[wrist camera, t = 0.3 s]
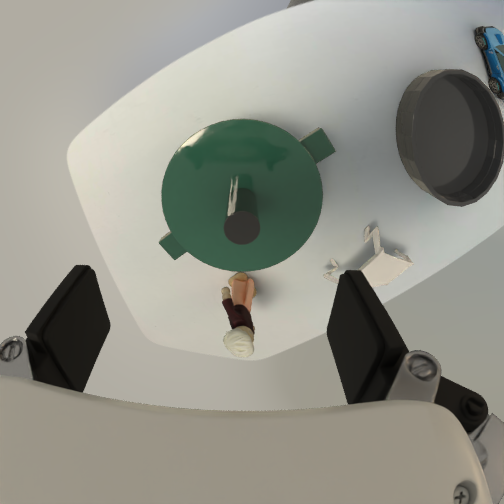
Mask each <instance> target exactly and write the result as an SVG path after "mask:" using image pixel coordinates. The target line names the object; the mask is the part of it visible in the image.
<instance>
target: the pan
mask: <svg viewBox="0 0 504 504" xmlns="http://www.w3.org/2000/svg"><path fill="white" fill-rule="evenodd" d="M396 139H397V146H398V150H399V154H400V157H401V160H402V163H403V165H404V167H405V169H406V171H407V173H408V174H409V176H410V177H411V179H412V180H413V181H414V182H415V183H416V184H417V185H418V186H419V187H420V188H421V189H422V190H424V191H426V192H427V193H429V194H430V195H432V196H434V197H435V198H437V199H439V200H440V201H442V202H444V203H445V204H447V205H452V206H461V207H462V206H466V205H469V204H472V203H475V202H477V201H478V200H479V199H480V198H482V197H483V196H484V195H485V194H487V192H488V191H489V190H490V188H491V187H492V185H493V184H494V182H495V181H496V179H497V177H498V175H499V172H500V169H501V167H502V164H503V160H504V121H503V118H502V114H501V111H500V108H499V105H498V103H497V101H496V100H495V98H494V96H493V94H492V93H491V91H490V89H489V88H488V87H487V86H486V85H485V84H484V83H483V82H482V81H481V80H480V79H479V78H478V77H477V76H475V75H473V74H470V73H468V72H466V71H464V70H456V69H445V70H431V71H428V72H426V73H423V74H421V75H420V76H418V77H417V78H416V79H414V80H413V81H412V82H411V84H410V85H409V86H408V87H407V89H406V91H405V92H404V94H403V96H402V99H401V101H400V104H399V108H398V112H397V118H396Z"/></svg>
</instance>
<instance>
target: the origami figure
mask: <svg viewBox="0 0 504 504" xmlns="http://www.w3.org/2000/svg"><path fill="white" fill-rule="evenodd" d="M369 234H370V226H368V227H367V228H366V229H365V240H364V242H365V243H366V242H367V241H368V240H369V239H370V238H371V237H372V236H373V242H374V249H375V255H374V256H372V257H371V258H370V259H369V260H368V261H367V262H366V263H365V264H364V265H363V266H362V267H360V268H359V269H358V270H361V271H362V272H363V274H364V275H365V277H366V279H367V280H368V282H369V283H370V285H371V287H376V286H381V285H388V284H389V283H390V282H391V281H392V280H393V279H395V278H396V277H397V276H399V275H400V274H401V273H402V272H404V271H405V270H406V269H407V268H408V267H410V266H411V265H413V263H412V261H411V260H410V258H409V257H408V256H406V255H404V254H402V253H400V252H398V250H397V249H396V250H395V251H394V252H395V253H396V254H398V255H399V256H401V257H402V258H404V259H401V258H396V257H393V256H390V255H388V254H386V253H384V248H383V247H380V237H379V229H378V226H377V227H376V228H375V229H374V230H373V231H372V232H371V234H370V235H369ZM330 262H331V263H332V264H333V266H334V267H335V268H334V269H332V270H331V271H329V272H327V273H326V274H324V275H323V276H324V278H326V279H328V280H330V281H332V282H335V283H337V284H338V282H339V280H338V279H336V278H334V277H332V276H331V275H330V274H331V273H332V272H334V271H335V270H336V269H337V268H338V267H339V266H338V265H337V264H336V262H335V261H334V260H333V259H331V260H330Z"/></svg>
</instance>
